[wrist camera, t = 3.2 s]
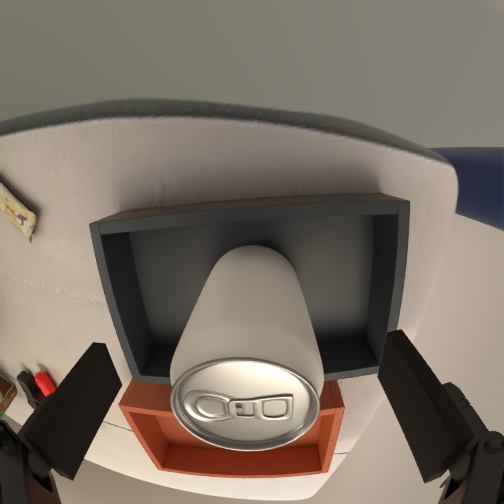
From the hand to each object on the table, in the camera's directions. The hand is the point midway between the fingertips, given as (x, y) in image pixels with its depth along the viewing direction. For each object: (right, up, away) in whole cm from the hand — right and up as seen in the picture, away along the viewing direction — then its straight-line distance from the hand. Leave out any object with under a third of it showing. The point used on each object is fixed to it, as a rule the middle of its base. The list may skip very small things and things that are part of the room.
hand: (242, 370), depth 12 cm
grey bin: (+1, +3, +9) cm, 10 cm away
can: (+1, +3, +9) cm, 10 cm away
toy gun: (-26, -14, +16) cm, 34 cm away
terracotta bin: (-1, -13, +14) cm, 19 cm away
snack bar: (-23, +10, +8) cm, 26 cm away
